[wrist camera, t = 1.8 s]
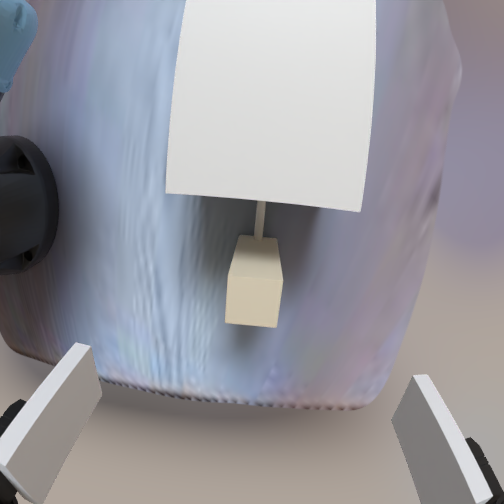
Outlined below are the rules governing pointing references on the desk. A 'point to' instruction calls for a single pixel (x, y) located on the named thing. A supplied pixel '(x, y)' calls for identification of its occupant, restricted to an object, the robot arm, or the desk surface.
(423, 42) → the desk surface
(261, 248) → the tethered block
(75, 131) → the desk surface
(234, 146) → the white open box
